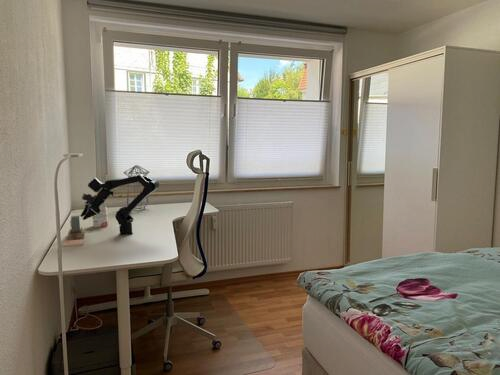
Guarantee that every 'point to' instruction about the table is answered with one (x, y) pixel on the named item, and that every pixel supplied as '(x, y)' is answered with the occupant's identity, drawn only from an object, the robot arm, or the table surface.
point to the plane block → (76, 234)
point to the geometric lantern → (137, 183)
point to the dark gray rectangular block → (75, 224)
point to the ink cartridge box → (101, 217)
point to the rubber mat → (72, 243)
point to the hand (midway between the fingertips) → (82, 217)
